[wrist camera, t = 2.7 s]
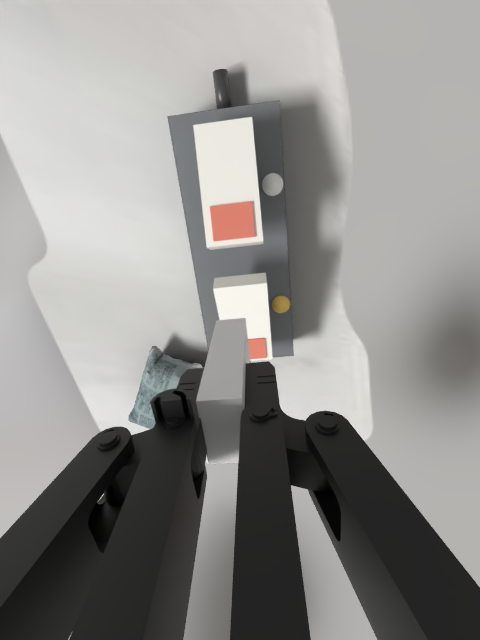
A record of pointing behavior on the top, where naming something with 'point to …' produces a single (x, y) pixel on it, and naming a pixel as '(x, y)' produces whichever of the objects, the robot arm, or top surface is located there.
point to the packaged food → (157, 383)
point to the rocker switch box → (272, 205)
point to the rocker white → (229, 183)
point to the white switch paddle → (247, 309)
